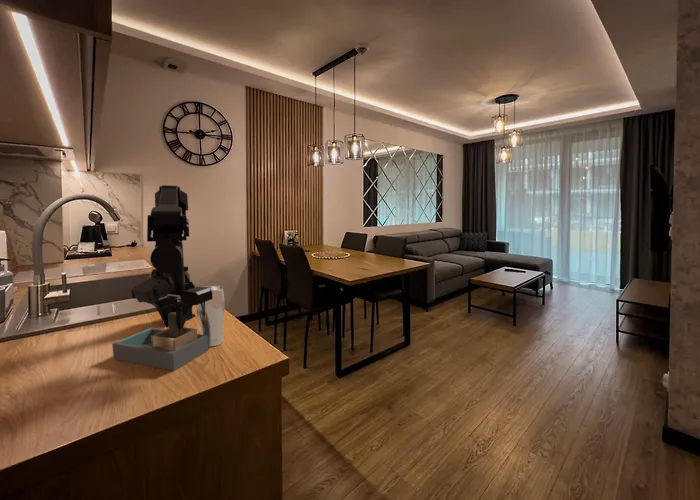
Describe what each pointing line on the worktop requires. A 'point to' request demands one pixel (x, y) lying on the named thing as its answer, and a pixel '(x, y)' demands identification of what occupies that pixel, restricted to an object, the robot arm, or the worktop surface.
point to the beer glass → (212, 316)
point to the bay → (157, 351)
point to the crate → (173, 336)
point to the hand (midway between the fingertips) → (174, 327)
